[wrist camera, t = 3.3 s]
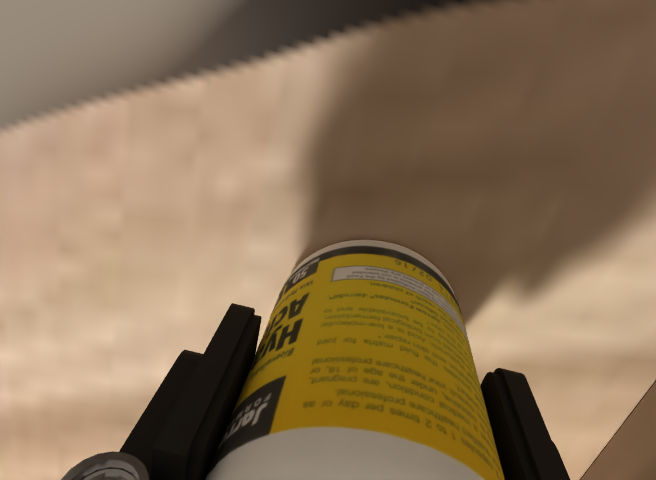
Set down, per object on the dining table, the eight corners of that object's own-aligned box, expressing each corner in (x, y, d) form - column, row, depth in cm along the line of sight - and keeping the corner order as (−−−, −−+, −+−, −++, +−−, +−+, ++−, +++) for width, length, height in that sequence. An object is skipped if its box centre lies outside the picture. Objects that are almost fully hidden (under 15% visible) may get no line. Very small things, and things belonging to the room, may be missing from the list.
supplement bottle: (299, 210, 12) (67, 721, 3) (487, 263, 12) (780, 908, 3) (264, 355, 14) (78, 868, 6) (420, 397, 14) (480, 973, 6)
